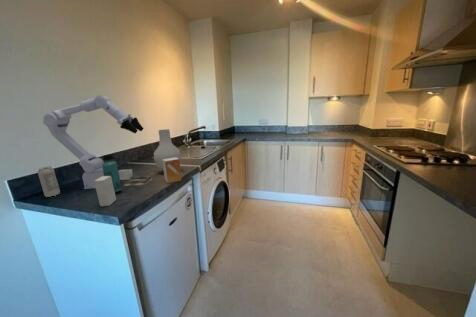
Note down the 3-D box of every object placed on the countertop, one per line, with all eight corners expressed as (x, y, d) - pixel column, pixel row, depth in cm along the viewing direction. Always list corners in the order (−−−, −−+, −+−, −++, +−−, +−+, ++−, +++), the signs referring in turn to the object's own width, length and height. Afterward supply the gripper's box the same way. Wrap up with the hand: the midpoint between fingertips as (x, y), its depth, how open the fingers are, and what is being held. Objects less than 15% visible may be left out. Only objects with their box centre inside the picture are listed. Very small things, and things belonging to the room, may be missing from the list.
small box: (167, 183, 112) (164, 161, 109) (164, 180, 117) (161, 159, 114) (182, 180, 116) (179, 158, 113) (178, 177, 121) (176, 156, 118)
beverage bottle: (109, 192, 104) (100, 154, 99) (123, 189, 107) (116, 152, 102) (106, 196, 98) (97, 157, 94) (121, 193, 101) (114, 155, 96)
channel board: (124, 186, 112) (123, 181, 111) (132, 180, 120) (131, 176, 120) (146, 184, 112) (145, 180, 111) (152, 179, 121) (151, 175, 120)
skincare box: (107, 200, 94) (101, 176, 91) (116, 199, 94) (111, 175, 91) (99, 206, 88) (93, 180, 85) (109, 205, 88) (103, 180, 85)
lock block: (118, 180, 123) (116, 171, 122) (122, 178, 127) (120, 169, 125) (130, 179, 123) (128, 171, 122) (133, 177, 127) (131, 169, 125)
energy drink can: (57, 192, 107) (49, 165, 103) (63, 194, 104) (55, 166, 101) (43, 197, 102) (34, 168, 98) (48, 199, 99) (39, 170, 96)
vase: (187, 168, 140) (182, 128, 133) (172, 176, 125) (166, 131, 118) (166, 167, 145) (161, 128, 138) (150, 174, 130) (143, 131, 123)
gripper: (114, 108, 99) (138, 127, 102) (128, 107, 112) (148, 123, 115) (106, 119, 100) (130, 137, 103) (121, 116, 114) (141, 132, 117)
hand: (139, 131), depth 109 cm, fingers open, 7 cm apart
